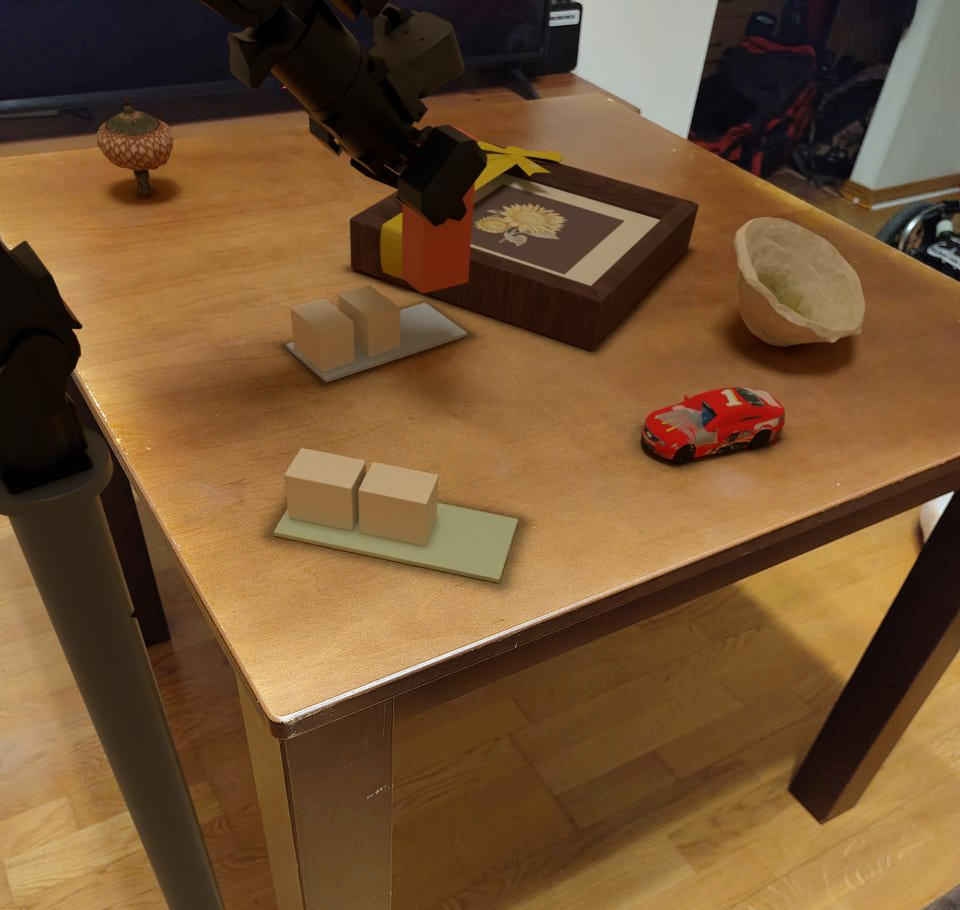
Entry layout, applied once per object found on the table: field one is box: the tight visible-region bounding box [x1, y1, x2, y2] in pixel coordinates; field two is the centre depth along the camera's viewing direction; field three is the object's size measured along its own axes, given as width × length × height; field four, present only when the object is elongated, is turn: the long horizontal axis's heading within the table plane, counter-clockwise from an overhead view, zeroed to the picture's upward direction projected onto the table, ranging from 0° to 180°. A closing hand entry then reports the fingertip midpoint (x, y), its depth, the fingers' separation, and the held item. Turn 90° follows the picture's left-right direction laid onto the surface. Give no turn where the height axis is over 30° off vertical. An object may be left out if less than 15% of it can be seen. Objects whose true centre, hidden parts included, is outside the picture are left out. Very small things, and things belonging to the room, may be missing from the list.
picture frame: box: [349, 139, 699, 351], centre depth 97 cm, size 28×7×30 cm
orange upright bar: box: [402, 124, 479, 295], centre depth 76 cm, size 5×4×12 cm
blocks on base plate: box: [285, 285, 468, 383], centre depth 83 cm, size 16×7×4 cm, turn 128°
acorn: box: [96, 97, 174, 195], centre depth 100 cm, size 8×8×10 cm
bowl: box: [733, 216, 866, 348], centre depth 87 cm, size 15×14×10 cm
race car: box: [640, 386, 786, 464], centre depth 76 cm, size 13×5×4 cm, turn 111°
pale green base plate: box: [273, 447, 519, 584], centre depth 65 cm, size 17×7×4 cm, turn 77°
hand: (450, 207), depth 77 cm, fingers closed on orange upright bar, 3 cm apart
